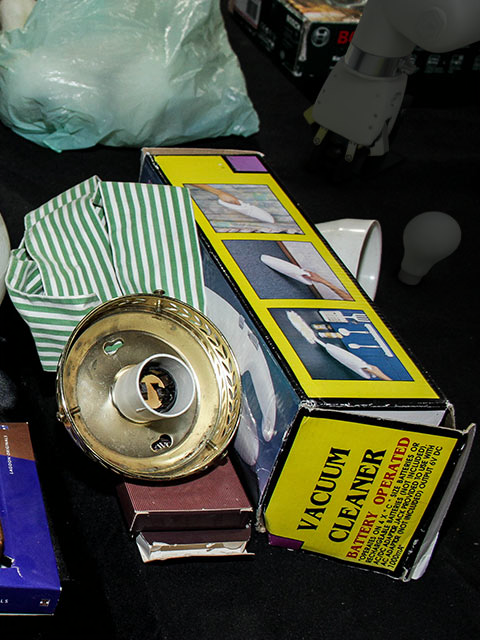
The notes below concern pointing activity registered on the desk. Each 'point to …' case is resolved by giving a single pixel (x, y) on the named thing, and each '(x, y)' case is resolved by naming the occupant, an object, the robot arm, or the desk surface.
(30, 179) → the desk surface
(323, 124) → the robot arm
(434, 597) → the desk surface
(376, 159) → the switch bracket
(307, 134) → the desk surface
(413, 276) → the lightbulb
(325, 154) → the switch lever
